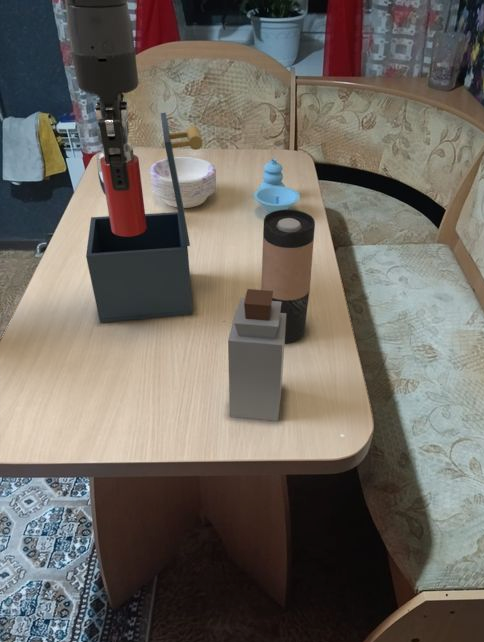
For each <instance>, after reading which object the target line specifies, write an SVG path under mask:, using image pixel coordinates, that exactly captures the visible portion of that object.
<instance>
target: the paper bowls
mask: <svg viewBox="0 0 484 642" xmlns="http://www.w3.org/2000/svg"><path fill="white" fill-rule="evenodd" d="M174 160H175V165H176V170H177V175H178V181H179V186H180V191H181V196H182V202H183V207H184V209H189V208H196V207H198V206H200V205H202V204H203V203H204V202H206V201H207V199H208V197H209V196H212V195H213V194H214V193H215V192H216V189H217V169H216V166H215V165H214V164H213V163H212V162H210V161H208V160H206V159H203V158H199V157H194V156H174ZM149 177H150V187H151V191H152V193H153V194H154V195H155V196H157V197H159V198H160V199H162V201H163V202H164V203H165V204H167V205H168V206H169V207H174V208H177V203H176V198H175V193H174V188H173V183H172V178H171V173H170V168H169V163H168V158H163V159H160V160H158V161H156V162H154V163H153V164H152V165H151V166H150V167H149Z"/></svg>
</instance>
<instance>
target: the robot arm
mask: <svg viewBox="0 0 484 642" xmlns="http://www.w3.org/2000/svg"><path fill="white" fill-rule="evenodd" d="M64 3H65V11H66V27H67V32H68V33H67V34H68V38H69V44H70V50H71V57H72V61H73V66H74V72H75V78H76V79H75V80H76V84H77V87H78V89H79V90H80V91H82V92H83V93H86V94H90V95H92V94H94V95H96V96H97V97H98V99H99V101H96V103H95V105H96V106H95V107H94V111H95V112H94V113H95V120H96V121H97V125H98V128H99V136H100V137H99V138H100V143H101V144H102V147H103V148H104V154H105V162H106V164H109V166H110V172H111V179H112V185H113V189H114V190H115V191H123V190H128V189H129V178H128V171H127V161H128V159H127V157H126V150H125V145H126V144H128V145H129V143H130V142H129V133H130V125H129V105H128V101H127V100H124V99H125V95H124V94H128V93H131V92H132V91H135V90H136V89H137V88H138V87H139V75H138V67H137V66H138V65H137V57H136V48H135V40H134V31H133V24H132V19H131V15H130V10H129V5H128V0H64ZM103 148H102V149H103ZM110 148H119V149H120V154H111V151H110Z"/></svg>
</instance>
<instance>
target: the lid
mask: <svg viewBox="0 0 484 642" xmlns="http://www.w3.org/2000/svg"><path fill="white" fill-rule="evenodd" d="M160 119H161V127H162V134H163V142H164V147H165V148H164V149H165V152H166V157H167V158H168V163H169V168H170V173H171V178H172V183H173V188H174V193H175V198H176V203H177V207H176V208H177V212H178V213H179V218H180V223H181V229H182V234H183V239H184V244H185V247H186V246H187V247H190V246H191V242H190V236H189V232H188V226H187V220H186V213H185V208H184V207H183V202H182V196H181V191H180V186H179V181H178V175H177V170H176V165H175V160H174V157H175V155H174V150H173V149H178V148H186V147H190V149H192V150H196V151H197V150H200V149H201V148H202V147H203V139H202V136H201V133H200V129H199V127H198V126H196V125H190V126H188V127H187V128H186V130H185V131H184V130H183V131H177V132H172V133H171V132H170V128H169V124H168V118H167V112H161V113H160ZM184 138H187V139H186V140H178V141H172V140H177V139H184Z"/></svg>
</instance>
